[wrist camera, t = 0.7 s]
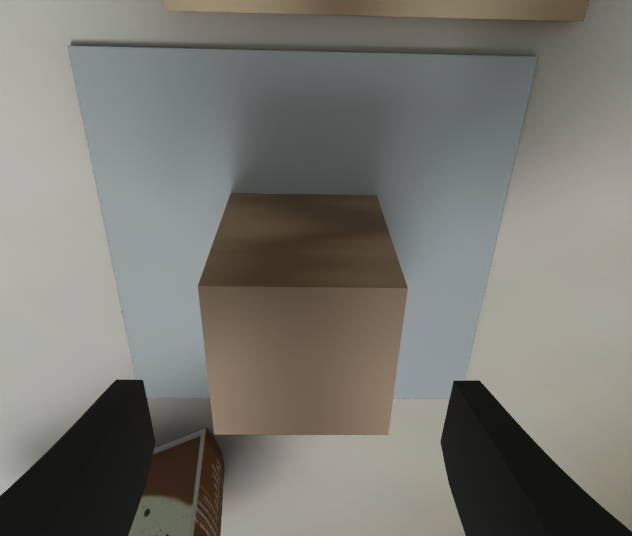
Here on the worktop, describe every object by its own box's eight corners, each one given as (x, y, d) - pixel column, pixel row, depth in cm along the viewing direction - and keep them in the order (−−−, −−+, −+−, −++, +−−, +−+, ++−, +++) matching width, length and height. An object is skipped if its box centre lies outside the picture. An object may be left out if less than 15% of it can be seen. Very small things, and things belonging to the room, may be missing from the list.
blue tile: (535, 55, 15) (538, 57, 15) (459, 396, 22) (460, 399, 22) (70, 45, 15) (67, 46, 15) (141, 394, 22) (139, 398, 22)
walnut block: (377, 195, 17) (407, 288, 12) (366, 314, 20) (387, 434, 14) (230, 192, 17) (197, 286, 12) (238, 313, 20) (213, 434, 14)
